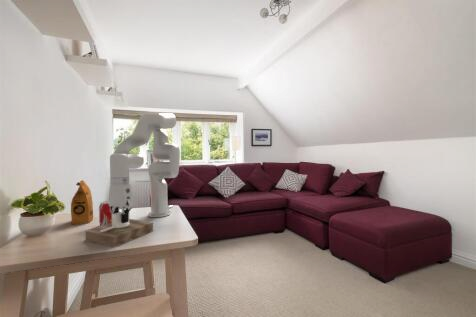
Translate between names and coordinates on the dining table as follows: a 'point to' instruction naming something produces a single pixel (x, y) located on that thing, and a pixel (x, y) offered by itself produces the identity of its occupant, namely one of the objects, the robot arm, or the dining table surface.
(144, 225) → the flat wooden block
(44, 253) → the dining table surface
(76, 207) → the coffee package
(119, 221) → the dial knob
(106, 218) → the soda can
